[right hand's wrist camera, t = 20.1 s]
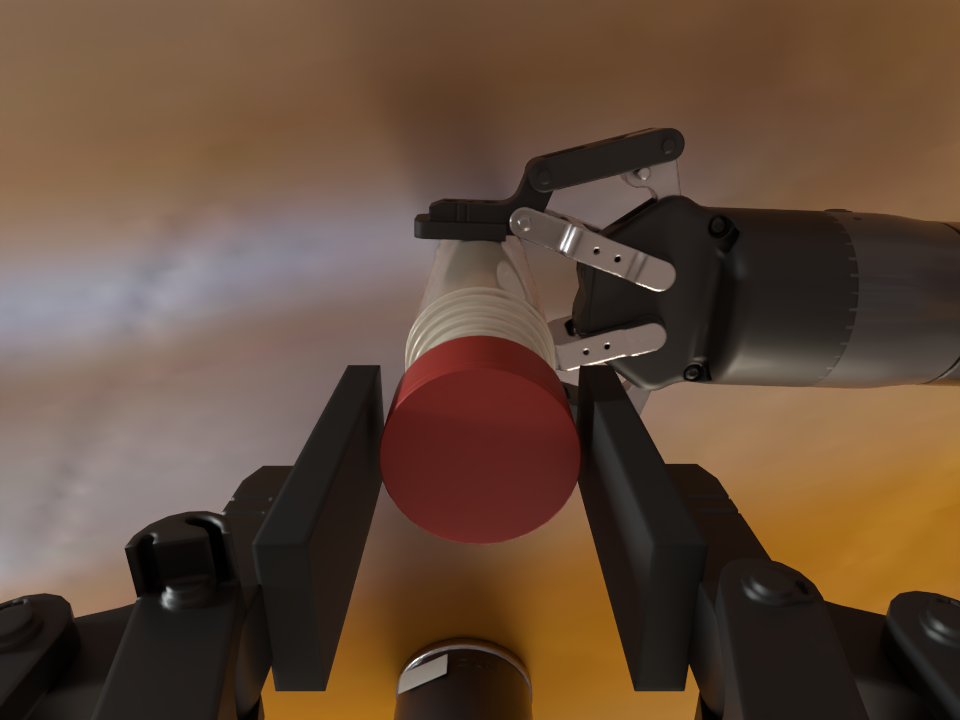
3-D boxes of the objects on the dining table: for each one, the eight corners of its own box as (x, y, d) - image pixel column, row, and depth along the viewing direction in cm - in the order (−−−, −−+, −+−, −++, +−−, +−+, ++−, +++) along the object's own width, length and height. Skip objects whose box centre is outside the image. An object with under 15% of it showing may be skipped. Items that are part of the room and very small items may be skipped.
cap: (448, 517, 16) (444, 572, 14) (357, 386, 14) (339, 427, 13) (598, 447, 15) (615, 495, 13) (516, 301, 14) (522, 331, 12)
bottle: (519, 302, 33) (570, 534, 14) (435, 298, 33) (378, 524, 14) (527, 217, 31) (594, 355, 13) (438, 212, 31) (377, 343, 13)
